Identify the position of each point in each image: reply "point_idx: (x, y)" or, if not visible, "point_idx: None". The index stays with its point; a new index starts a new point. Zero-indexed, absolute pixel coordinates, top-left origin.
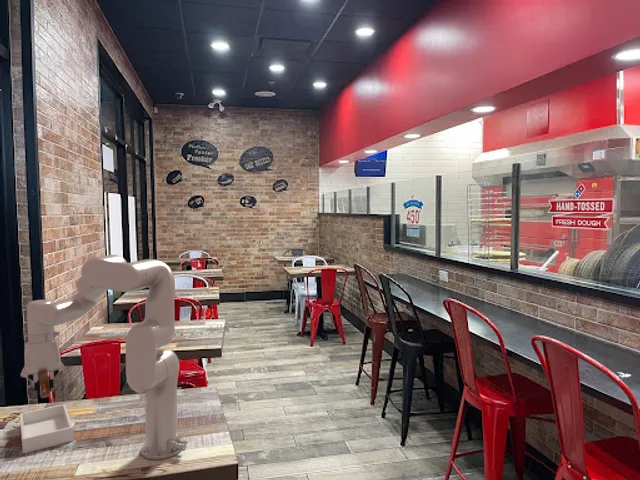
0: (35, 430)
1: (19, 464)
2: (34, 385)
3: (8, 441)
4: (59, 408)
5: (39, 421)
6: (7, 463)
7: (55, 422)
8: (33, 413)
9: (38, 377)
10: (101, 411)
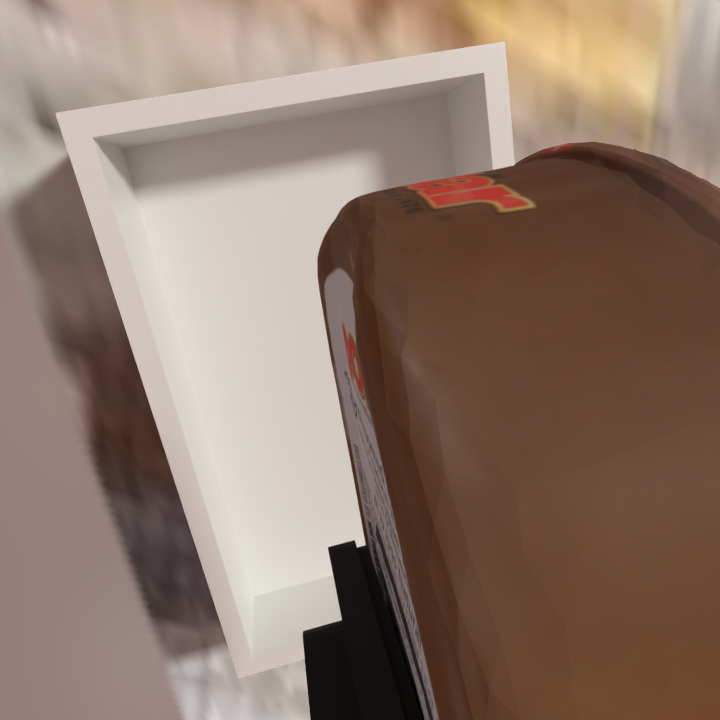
0: (261, 333)
1: (251, 704)
2: (312, 712)
3: (91, 405)
4: (440, 84)
5: (260, 150)
6: (182, 682)
7: None
8: (202, 122)
9: (344, 297)
10: (707, 116)
